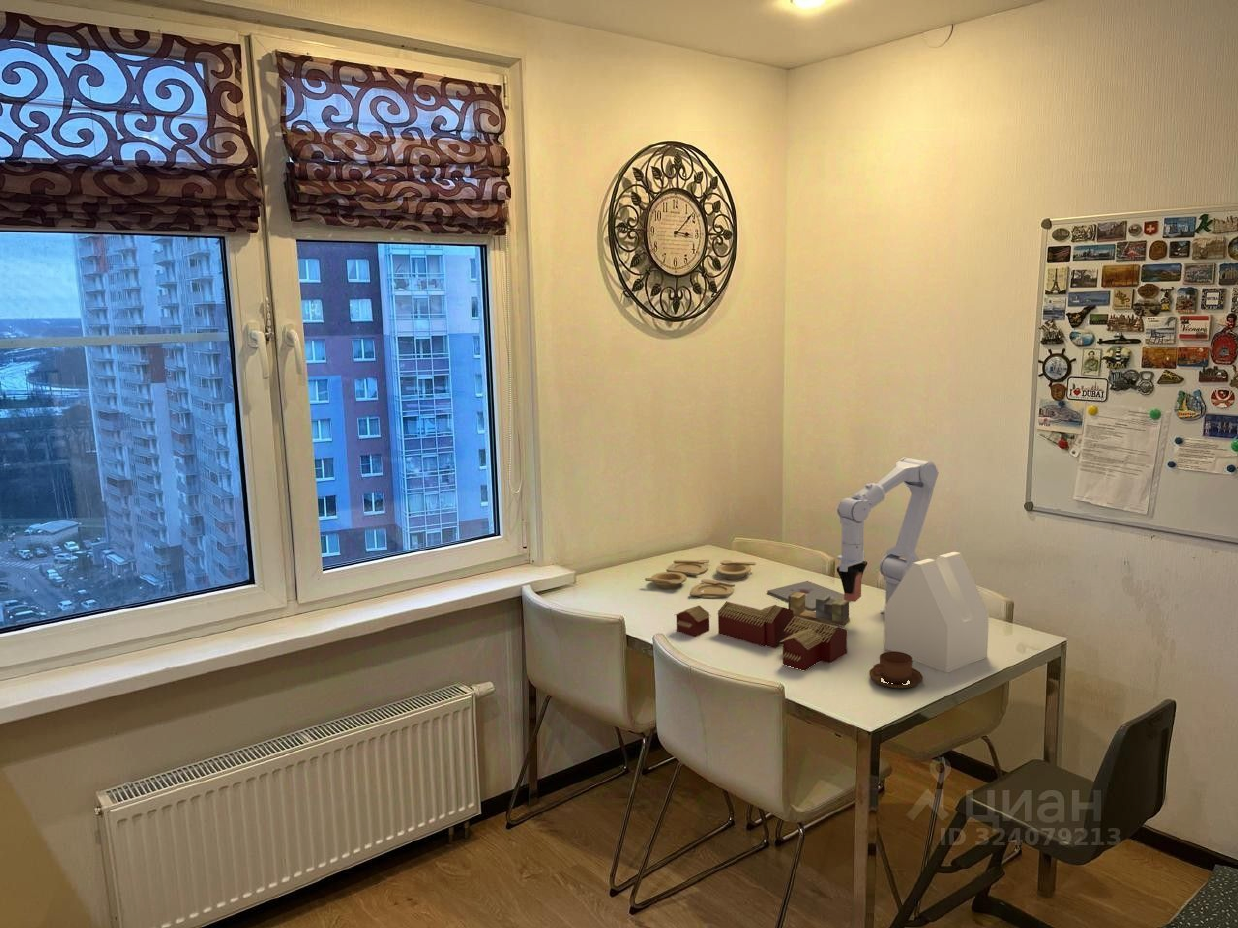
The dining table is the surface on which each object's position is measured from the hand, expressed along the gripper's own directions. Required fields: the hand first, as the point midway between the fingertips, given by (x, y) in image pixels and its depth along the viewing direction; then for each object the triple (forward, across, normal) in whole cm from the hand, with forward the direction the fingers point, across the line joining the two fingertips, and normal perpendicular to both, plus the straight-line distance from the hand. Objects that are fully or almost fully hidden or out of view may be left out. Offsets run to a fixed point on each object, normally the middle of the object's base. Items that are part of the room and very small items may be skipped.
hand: (851, 589), depth 248 cm
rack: (+10, 0, -10) cm, 14 cm away
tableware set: (+11, -16, -56) cm, 59 cm away
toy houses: (+11, +24, -18) cm, 31 cm away
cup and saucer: (+10, +31, +21) cm, 39 cm away
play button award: (+11, -16, -19) cm, 27 cm away
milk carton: (+10, +9, +25) cm, 28 cm away
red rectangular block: (+2, 0, 0) cm, 2 cm away
